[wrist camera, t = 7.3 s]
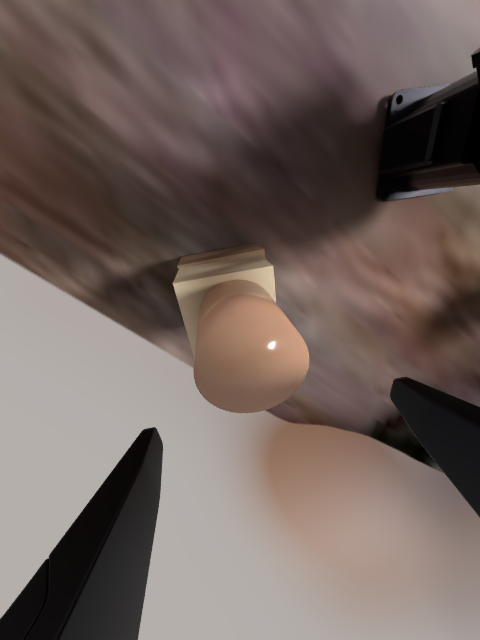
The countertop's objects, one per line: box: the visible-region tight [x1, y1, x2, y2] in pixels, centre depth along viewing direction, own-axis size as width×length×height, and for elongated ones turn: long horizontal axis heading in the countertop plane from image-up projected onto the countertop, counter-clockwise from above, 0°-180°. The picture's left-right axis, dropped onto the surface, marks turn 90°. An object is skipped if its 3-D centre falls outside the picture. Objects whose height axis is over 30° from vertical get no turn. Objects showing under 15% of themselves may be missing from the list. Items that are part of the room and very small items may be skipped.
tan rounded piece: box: [194, 279, 309, 413], centre depth 11 cm, size 5×5×5 cm
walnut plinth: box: [177, 243, 266, 270], centre depth 18 cm, size 6×6×4 cm
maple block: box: [173, 255, 276, 359], centre depth 15 cm, size 6×6×4 cm
